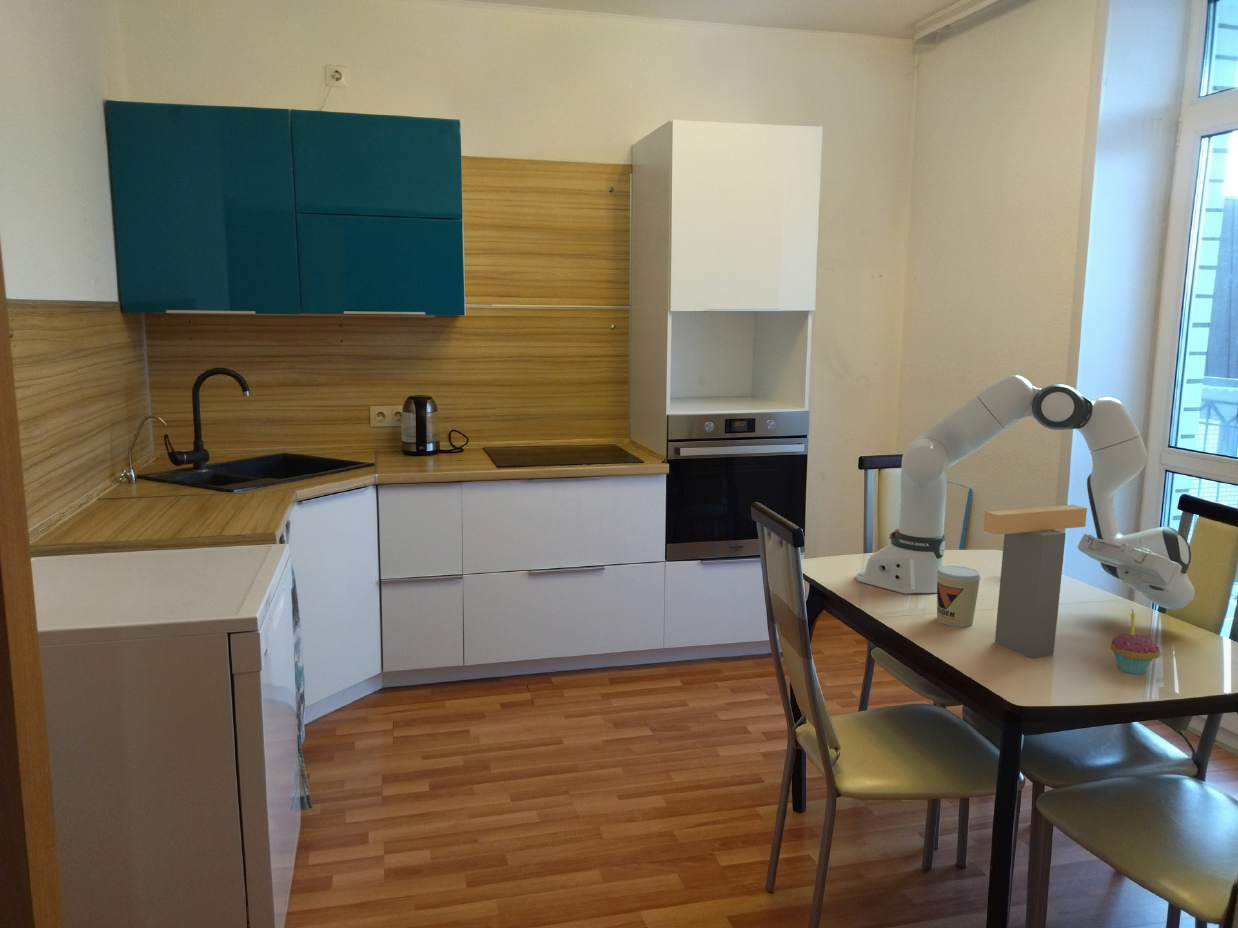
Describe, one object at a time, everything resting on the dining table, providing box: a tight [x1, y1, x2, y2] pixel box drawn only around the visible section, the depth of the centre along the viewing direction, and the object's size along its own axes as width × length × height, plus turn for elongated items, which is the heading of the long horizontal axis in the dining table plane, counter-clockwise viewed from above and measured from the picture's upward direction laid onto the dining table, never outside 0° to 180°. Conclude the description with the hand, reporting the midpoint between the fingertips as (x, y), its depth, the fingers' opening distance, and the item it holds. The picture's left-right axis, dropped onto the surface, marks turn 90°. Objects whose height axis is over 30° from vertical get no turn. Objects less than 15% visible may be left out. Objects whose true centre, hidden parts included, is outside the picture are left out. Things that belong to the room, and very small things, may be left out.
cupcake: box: [1110, 608, 1161, 675], centre depth 176 cm, size 9×8×12 cm
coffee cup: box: [936, 565, 982, 628], centre depth 204 cm, size 9×9×12 cm
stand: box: [994, 529, 1067, 659], centre depth 186 cm, size 6×10×26 cm, turn 21°
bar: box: [982, 504, 1088, 536], centre depth 183 cm, size 24×4×4 cm, turn 111°
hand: (1104, 542), depth 192 cm, fingers open, 8 cm apart
